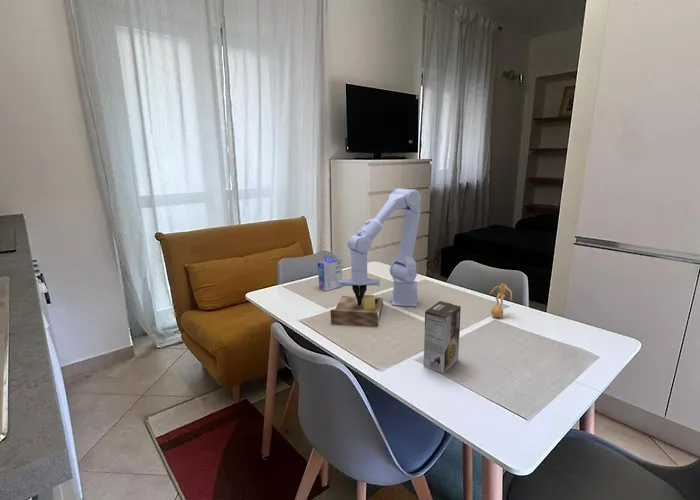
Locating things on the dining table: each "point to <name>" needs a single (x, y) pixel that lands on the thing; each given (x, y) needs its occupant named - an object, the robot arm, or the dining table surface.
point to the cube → (368, 302)
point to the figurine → (497, 310)
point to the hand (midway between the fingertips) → (359, 304)
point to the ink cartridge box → (329, 273)
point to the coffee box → (441, 336)
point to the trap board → (356, 312)
